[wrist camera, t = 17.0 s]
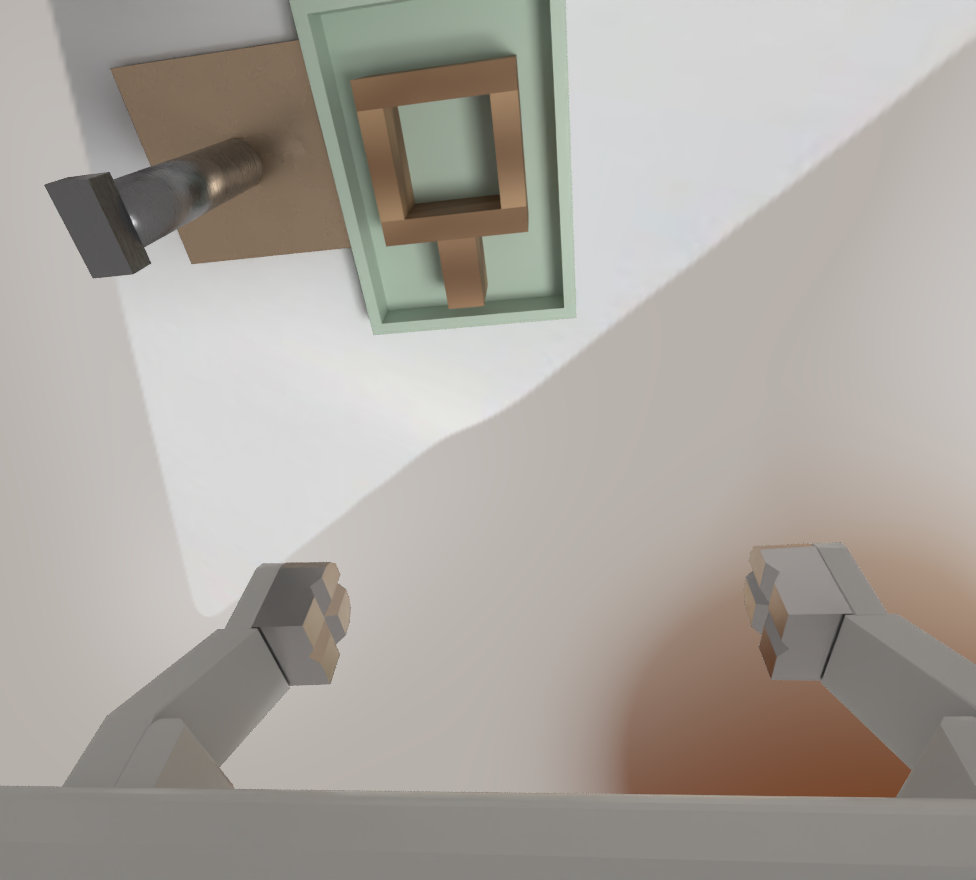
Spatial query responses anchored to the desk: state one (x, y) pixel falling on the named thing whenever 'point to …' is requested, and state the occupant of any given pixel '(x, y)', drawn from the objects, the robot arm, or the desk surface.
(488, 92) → the walnut collar
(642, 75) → the desk surface
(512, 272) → the sage tray
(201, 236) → the post stand
